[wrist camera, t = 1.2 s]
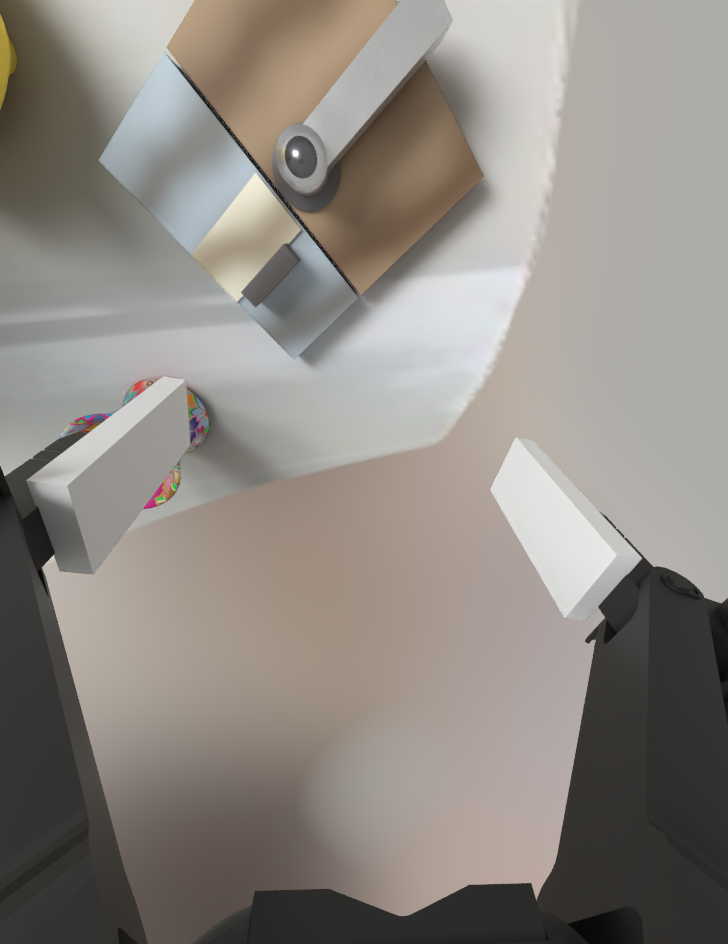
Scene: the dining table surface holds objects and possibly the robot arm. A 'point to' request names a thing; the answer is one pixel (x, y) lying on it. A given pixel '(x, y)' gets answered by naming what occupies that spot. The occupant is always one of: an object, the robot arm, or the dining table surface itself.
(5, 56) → the teapot
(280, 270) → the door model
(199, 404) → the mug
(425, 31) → the latch bar
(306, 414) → the dining table surface
